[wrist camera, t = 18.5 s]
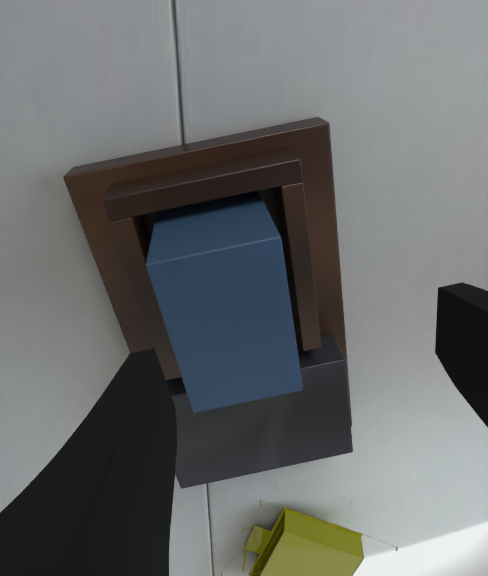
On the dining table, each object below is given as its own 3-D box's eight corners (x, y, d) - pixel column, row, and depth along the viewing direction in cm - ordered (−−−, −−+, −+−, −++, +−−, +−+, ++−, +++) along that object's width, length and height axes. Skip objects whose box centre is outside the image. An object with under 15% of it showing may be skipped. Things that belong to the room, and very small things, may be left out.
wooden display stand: (344, 407, 25) (365, 456, 22) (173, 443, 25) (171, 498, 22) (318, 116, 17) (346, 130, 14) (71, 167, 17) (46, 192, 14)
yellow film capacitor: (398, 551, 26) (389, 510, 29) (255, 501, 26) (259, 466, 29) (333, 641, 30) (330, 599, 33) (208, 599, 30) (215, 560, 33)
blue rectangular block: (278, 316, 20) (303, 390, 15) (192, 334, 20) (193, 414, 15) (257, 188, 17) (281, 236, 12) (156, 209, 17) (144, 264, 12)
